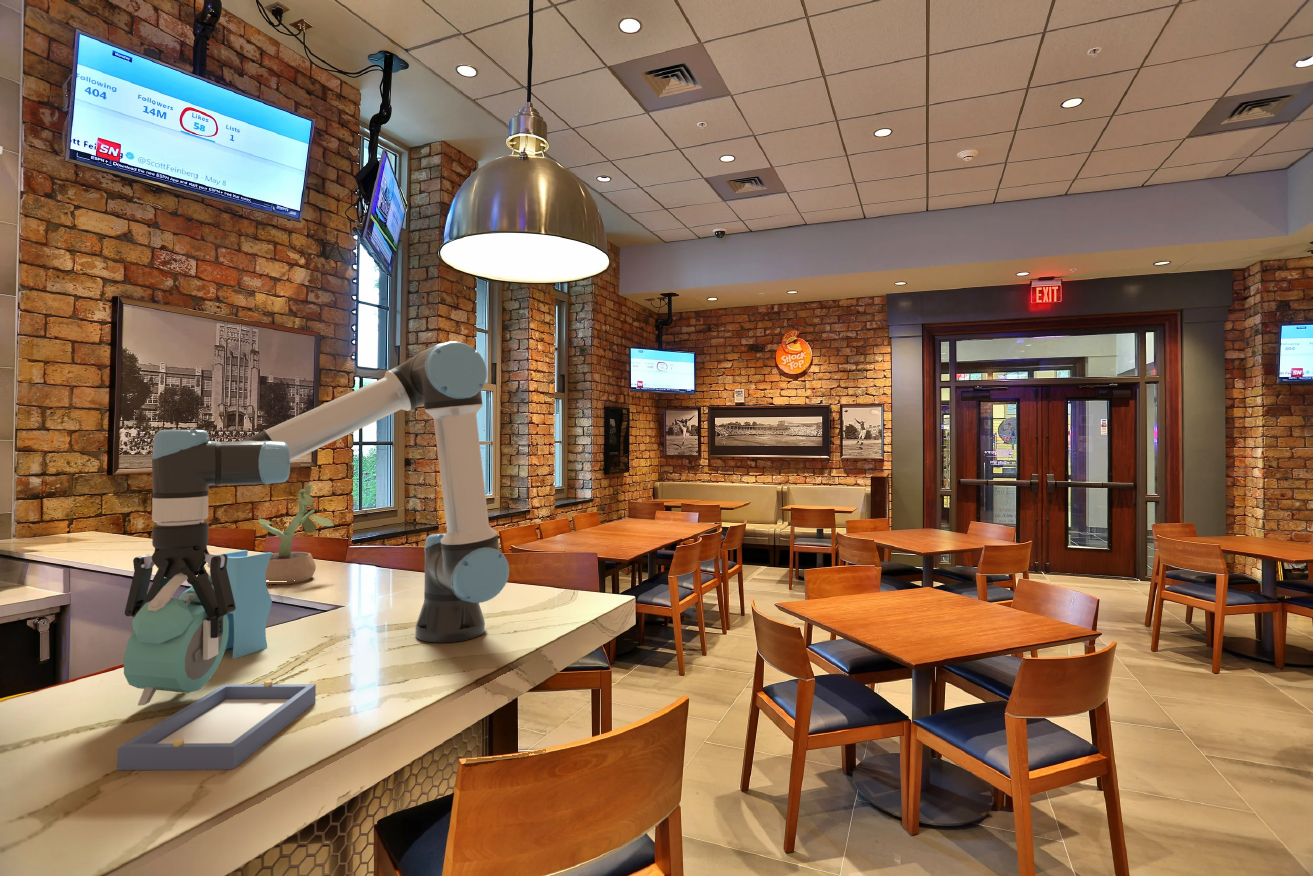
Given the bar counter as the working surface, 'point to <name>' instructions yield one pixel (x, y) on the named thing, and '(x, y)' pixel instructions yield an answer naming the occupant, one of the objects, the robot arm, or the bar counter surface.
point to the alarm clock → (171, 644)
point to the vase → (248, 602)
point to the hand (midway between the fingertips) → (180, 657)
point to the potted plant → (285, 561)
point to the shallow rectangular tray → (217, 728)
